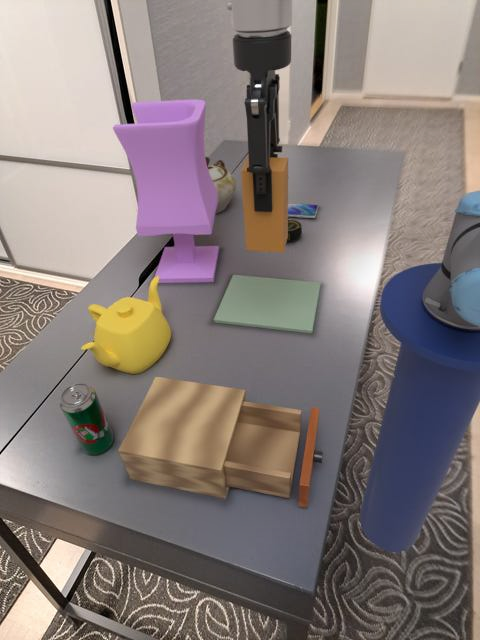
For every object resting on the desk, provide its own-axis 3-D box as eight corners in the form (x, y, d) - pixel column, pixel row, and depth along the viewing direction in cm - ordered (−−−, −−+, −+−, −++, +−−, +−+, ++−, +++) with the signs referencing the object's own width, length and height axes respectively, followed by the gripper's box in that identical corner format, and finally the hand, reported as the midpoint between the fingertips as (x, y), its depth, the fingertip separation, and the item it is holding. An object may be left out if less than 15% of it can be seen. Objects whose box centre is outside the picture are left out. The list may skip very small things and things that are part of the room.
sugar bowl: (220, 227, 120) (214, 173, 110) (172, 219, 125) (163, 167, 115) (248, 196, 133) (245, 146, 123) (204, 190, 138) (198, 141, 128)
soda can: (97, 425, 73) (75, 376, 65) (121, 436, 71) (101, 387, 63) (75, 449, 69) (49, 401, 62) (100, 461, 67) (76, 413, 60)
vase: (162, 249, 113) (132, 102, 90) (223, 247, 112) (208, 98, 89) (149, 285, 101) (111, 127, 79) (217, 284, 100) (198, 123, 77)
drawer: (325, 432, 68) (327, 409, 64) (316, 510, 59) (318, 488, 55) (232, 417, 71) (230, 394, 67) (210, 488, 62) (206, 466, 58)
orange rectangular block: (287, 236, 77) (288, 157, 68) (283, 252, 74) (283, 171, 64) (252, 235, 79) (247, 156, 70) (246, 250, 75) (240, 170, 66)
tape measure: (285, 228, 117) (285, 216, 115) (306, 236, 114) (307, 223, 111) (269, 239, 113) (269, 226, 111) (291, 247, 110) (291, 234, 107)
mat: (320, 285, 97) (320, 282, 97) (312, 333, 86) (312, 330, 85) (233, 277, 102) (233, 274, 101) (213, 322, 90) (213, 319, 90)
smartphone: (266, 201, 128) (318, 204, 124) (266, 204, 128) (318, 207, 125) (260, 212, 122) (315, 216, 119) (261, 215, 123) (315, 219, 119)
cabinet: (248, 420, 72) (245, 389, 67) (226, 499, 62) (221, 470, 57) (164, 406, 75) (155, 376, 70) (130, 479, 65) (117, 450, 60)
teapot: (132, 305, 96) (120, 264, 89) (193, 323, 90) (186, 280, 83) (61, 375, 82) (40, 332, 75) (128, 401, 76) (112, 357, 69)
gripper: (247, 21, 63) (254, 177, 79) (215, 46, 50) (231, 229, 65) (299, 19, 62) (296, 178, 77) (280, 44, 49) (281, 231, 64)
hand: (266, 201), depth 71 cm, fingers closed on orange rectangular block, 5 cm apart
